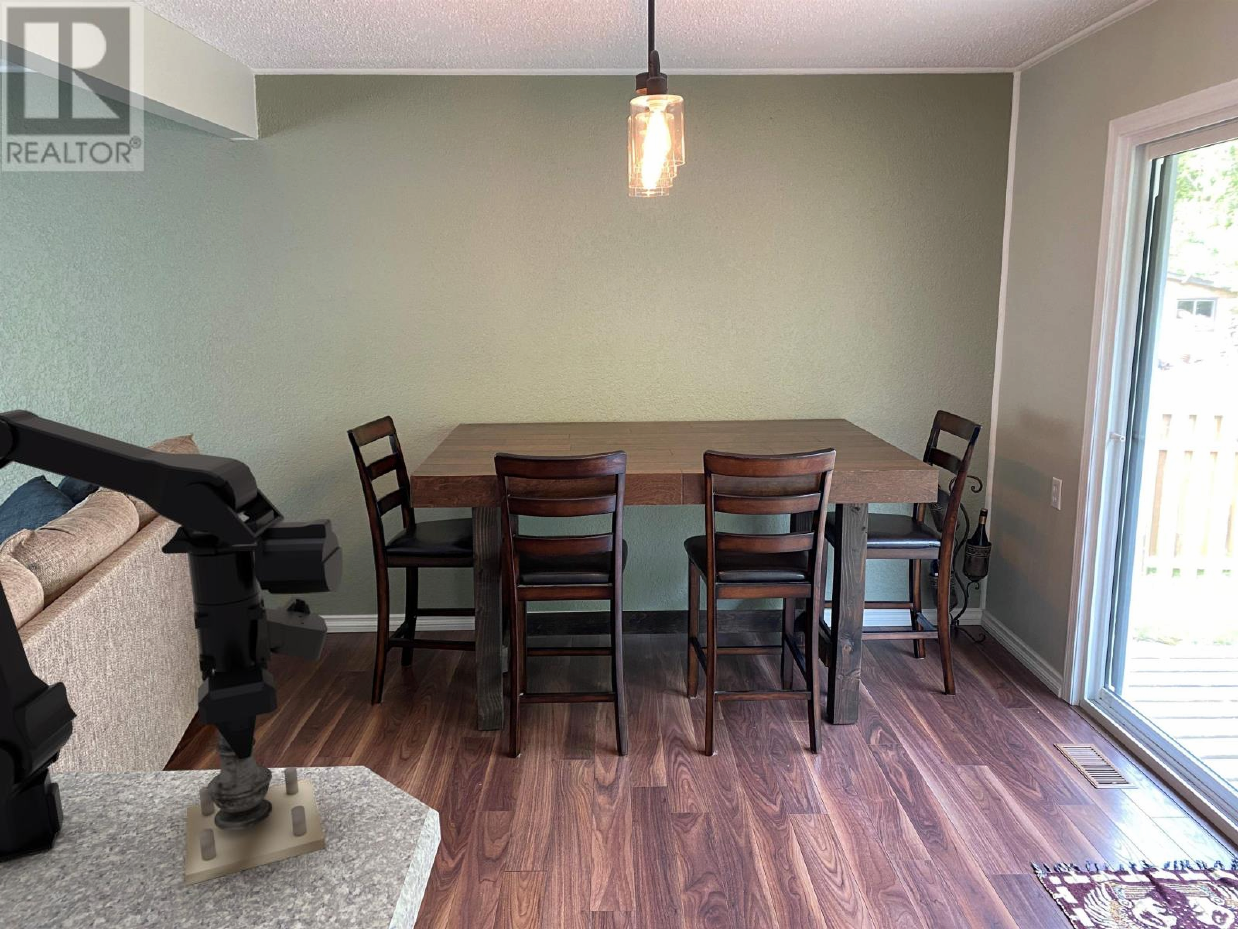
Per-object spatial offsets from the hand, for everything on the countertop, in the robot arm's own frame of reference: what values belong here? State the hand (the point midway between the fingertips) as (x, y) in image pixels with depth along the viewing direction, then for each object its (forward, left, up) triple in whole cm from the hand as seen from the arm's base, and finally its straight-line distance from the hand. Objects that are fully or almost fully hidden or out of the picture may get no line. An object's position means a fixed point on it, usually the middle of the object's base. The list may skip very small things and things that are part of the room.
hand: (244, 748), depth 85 cm
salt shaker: (-1, 0, -7) cm, 7 cm away
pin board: (0, 0, -9) cm, 9 cm away
